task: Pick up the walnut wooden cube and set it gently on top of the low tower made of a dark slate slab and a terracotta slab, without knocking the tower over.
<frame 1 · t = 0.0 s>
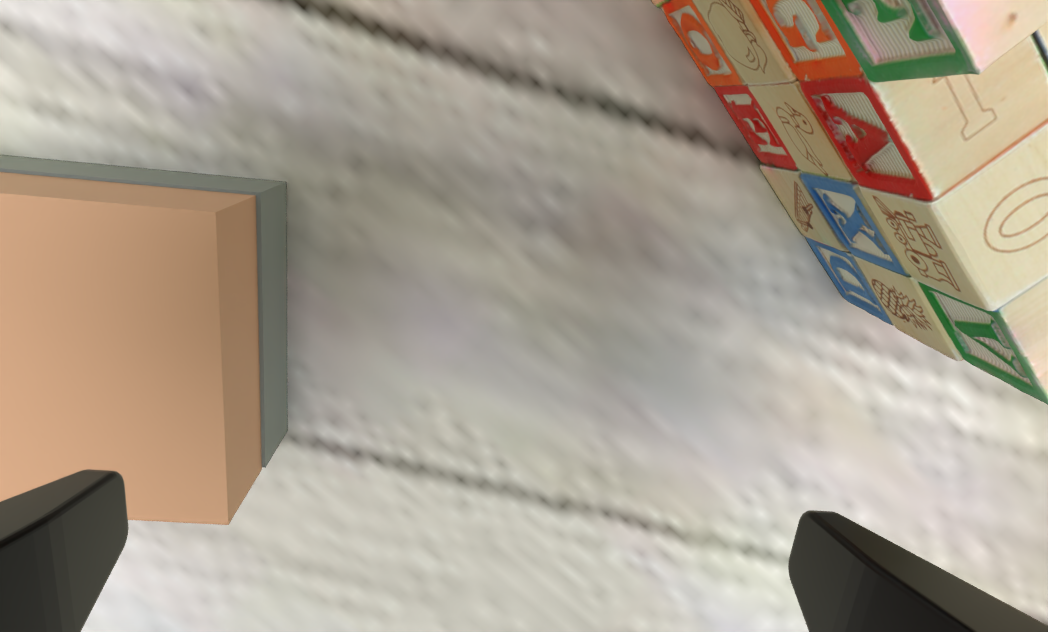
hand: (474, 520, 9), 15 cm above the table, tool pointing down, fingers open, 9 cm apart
tower top slab: (106, 330, 20), point 3 cm above the table, touching tower base slab
tower base slab: (157, 299, 23), on the table, touching tower top slab
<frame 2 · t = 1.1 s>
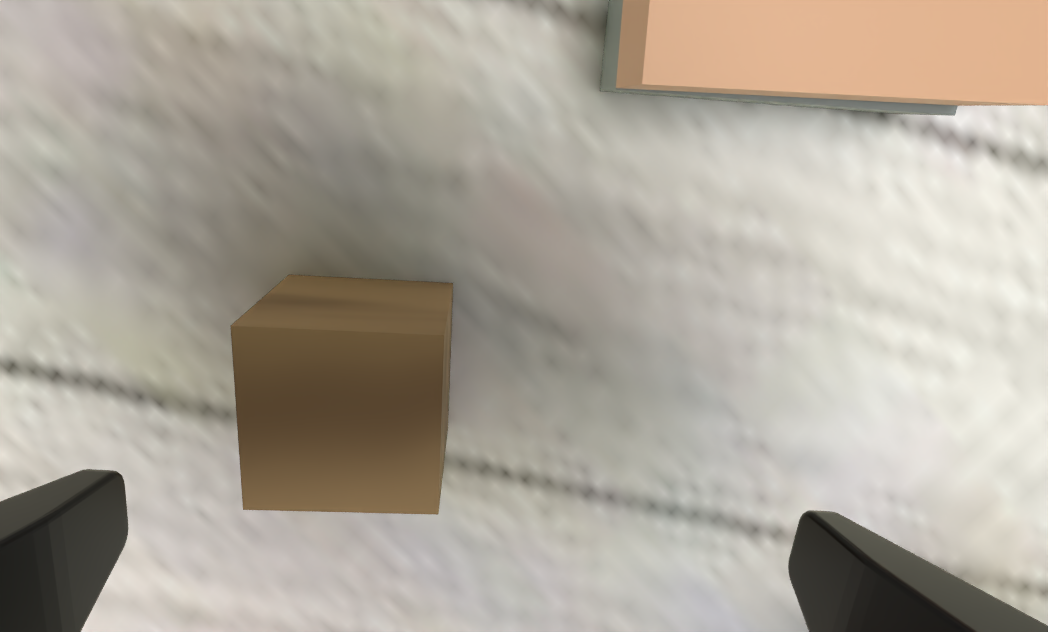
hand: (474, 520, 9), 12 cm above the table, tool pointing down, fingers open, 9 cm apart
walnut block: (372, 353, 21), on the table
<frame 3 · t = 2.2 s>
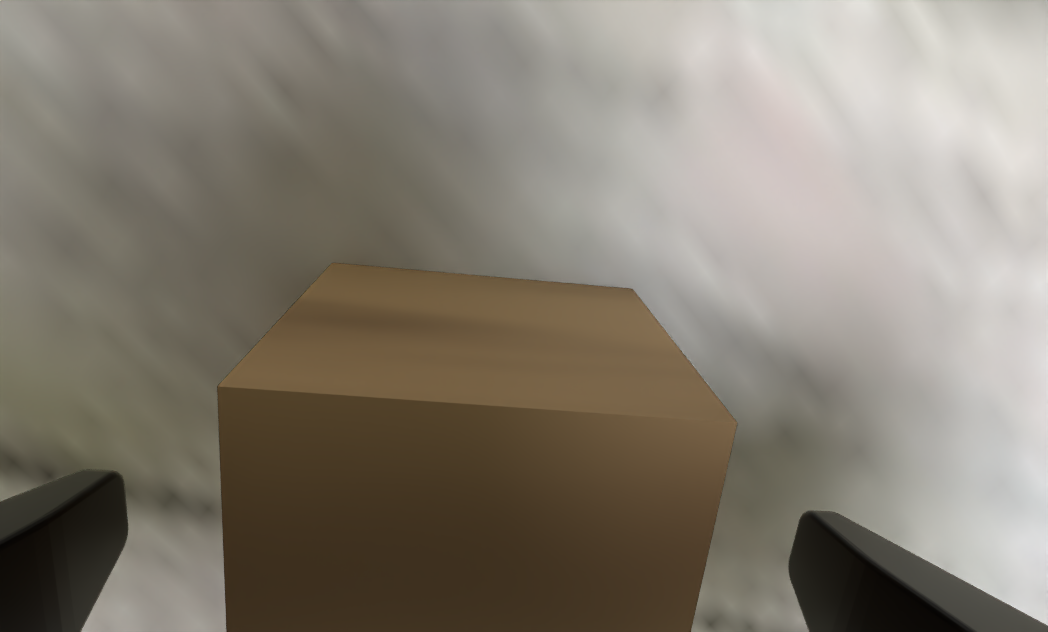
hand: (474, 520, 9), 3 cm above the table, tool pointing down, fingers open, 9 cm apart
walnut block: (473, 410, 12), on the table
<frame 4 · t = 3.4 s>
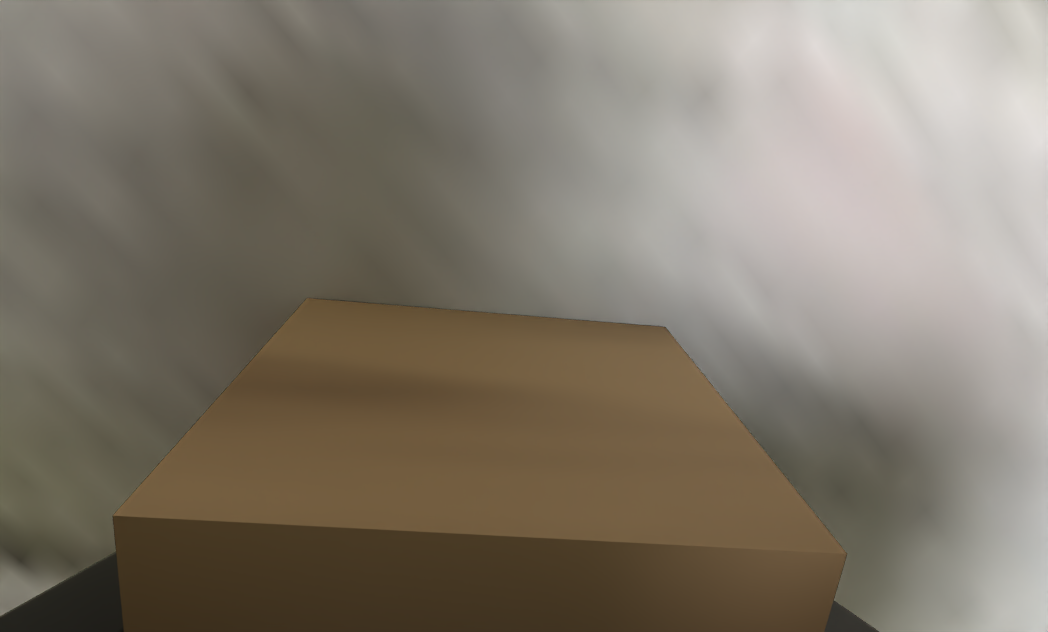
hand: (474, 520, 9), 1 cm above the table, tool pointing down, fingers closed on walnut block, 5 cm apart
walnut block: (475, 470, 10), on the table, touching gripper
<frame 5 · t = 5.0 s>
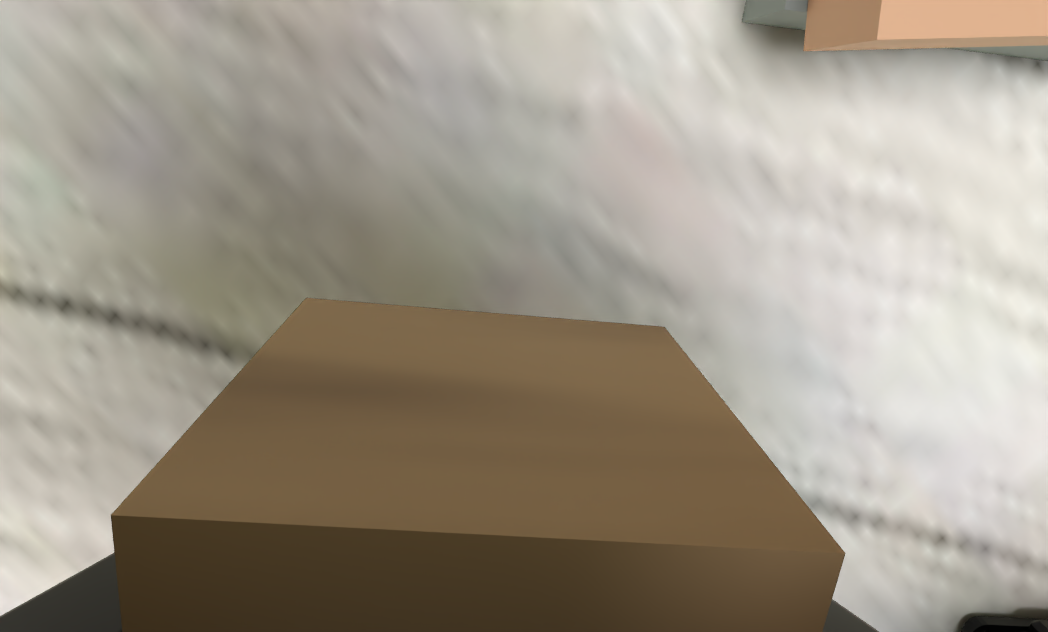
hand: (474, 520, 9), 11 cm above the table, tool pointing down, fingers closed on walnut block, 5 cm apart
walnut block: (474, 470, 10), point 10 cm above the table, touching gripper
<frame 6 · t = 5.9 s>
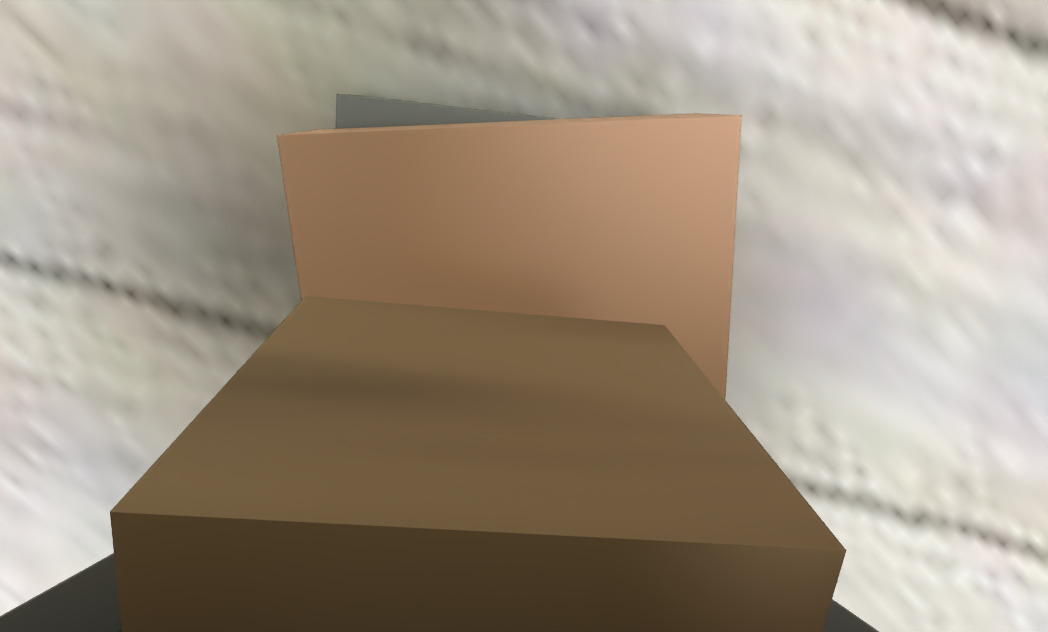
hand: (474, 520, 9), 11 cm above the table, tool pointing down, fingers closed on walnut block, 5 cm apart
tower top slab: (515, 303, 17), point 2 cm above the table, touching tower base slab
walnut block: (474, 468, 10), point 10 cm above the table, touching gripper
tower base slab: (506, 270, 20), on the table, touching tower top slab
when the fingers open (8 cm above the table, at t = 7.3 s): walnut block drops 1 cm, point 6 cm above the table.
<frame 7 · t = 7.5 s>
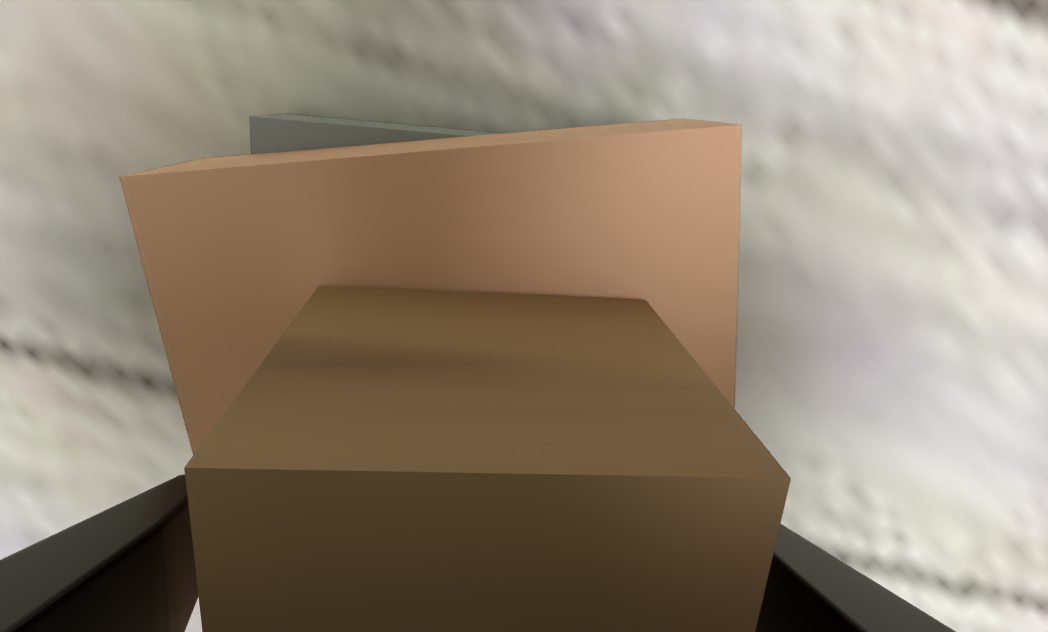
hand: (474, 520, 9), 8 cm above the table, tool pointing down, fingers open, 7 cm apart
tower top slab: (470, 360, 14), point 2 cm above the table, touching tower base slab
walnut block: (478, 437, 11), point 6 cm above the table
tower base slab: (479, 315, 17), on the table, touching tower top slab
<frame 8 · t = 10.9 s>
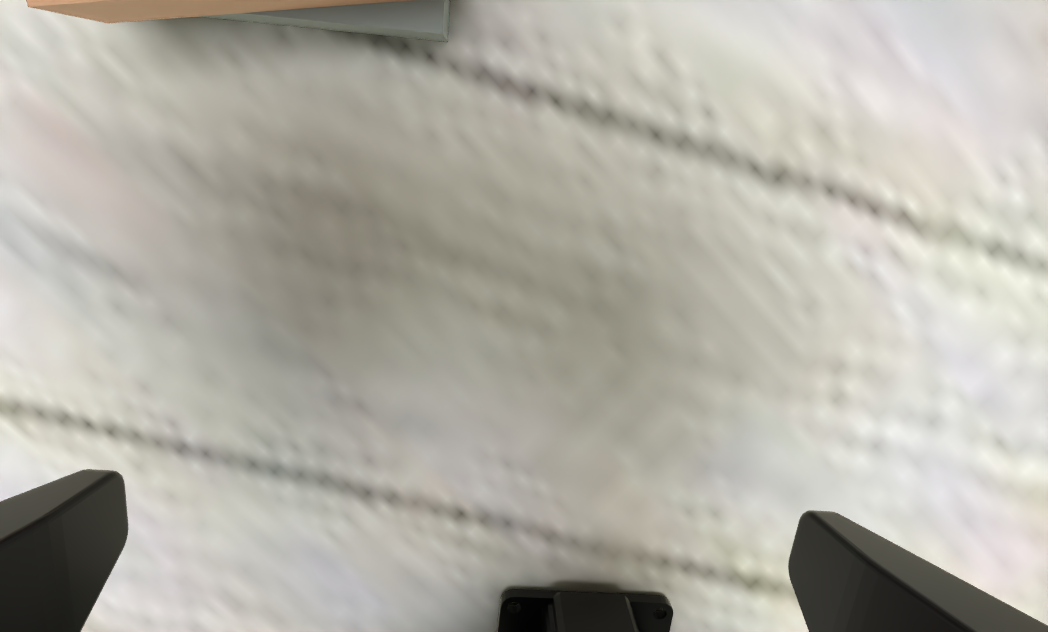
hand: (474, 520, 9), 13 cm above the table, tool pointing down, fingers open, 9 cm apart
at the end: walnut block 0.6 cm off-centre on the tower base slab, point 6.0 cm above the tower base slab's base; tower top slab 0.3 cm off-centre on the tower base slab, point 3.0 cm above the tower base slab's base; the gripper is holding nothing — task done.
